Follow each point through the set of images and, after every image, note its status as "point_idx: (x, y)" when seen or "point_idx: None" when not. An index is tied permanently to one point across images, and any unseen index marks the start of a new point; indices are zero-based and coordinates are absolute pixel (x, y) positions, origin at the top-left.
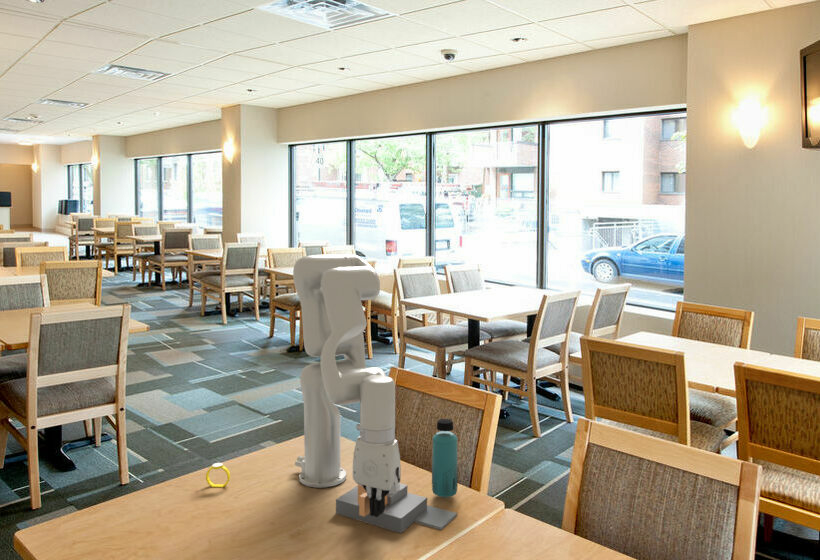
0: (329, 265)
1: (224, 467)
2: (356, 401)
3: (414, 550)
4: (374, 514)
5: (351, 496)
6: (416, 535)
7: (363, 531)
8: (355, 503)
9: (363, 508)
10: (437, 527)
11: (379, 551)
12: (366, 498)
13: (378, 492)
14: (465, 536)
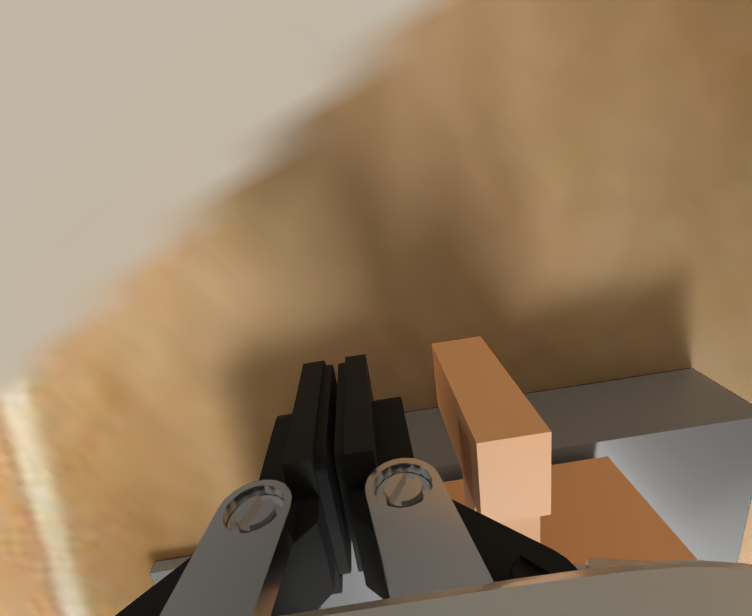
0: None
1: None
2: None
3: (91, 358)
4: (319, 368)
5: (696, 494)
6: (203, 464)
7: (447, 327)
8: (623, 452)
9: (455, 372)
10: (173, 565)
11: (221, 225)
12: (471, 458)
13: (232, 578)
14: (34, 586)
